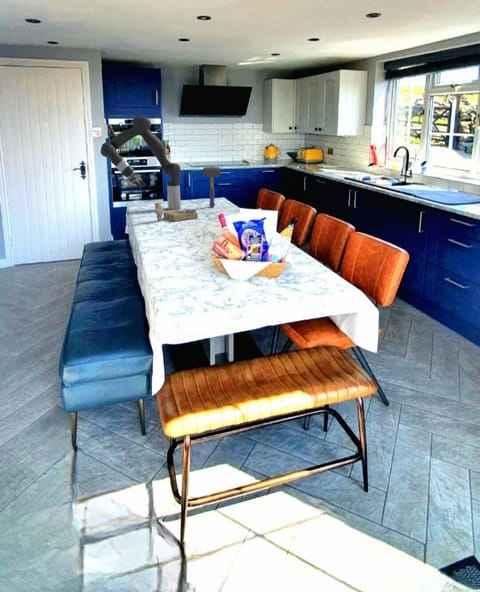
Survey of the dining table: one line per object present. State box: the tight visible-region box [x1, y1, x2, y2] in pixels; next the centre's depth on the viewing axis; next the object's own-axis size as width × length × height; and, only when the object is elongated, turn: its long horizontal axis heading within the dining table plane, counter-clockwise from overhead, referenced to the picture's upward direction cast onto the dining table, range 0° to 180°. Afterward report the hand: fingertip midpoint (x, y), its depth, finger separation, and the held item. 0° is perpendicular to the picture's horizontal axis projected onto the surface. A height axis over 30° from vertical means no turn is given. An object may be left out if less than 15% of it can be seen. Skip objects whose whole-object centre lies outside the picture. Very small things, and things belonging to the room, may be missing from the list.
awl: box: [154, 201, 164, 222], centre depth 338 cm, size 5×5×12 cm
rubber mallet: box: [202, 166, 221, 208], centre depth 381 cm, size 12×8×30 cm, turn 101°
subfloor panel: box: [163, 208, 199, 223], centre depth 348 cm, size 15×18×4 cm
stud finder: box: [186, 208, 197, 213], centre depth 346 cm, size 3×6×2 cm, turn 127°
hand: (143, 186), depth 333 cm, fingers open, 8 cm apart
